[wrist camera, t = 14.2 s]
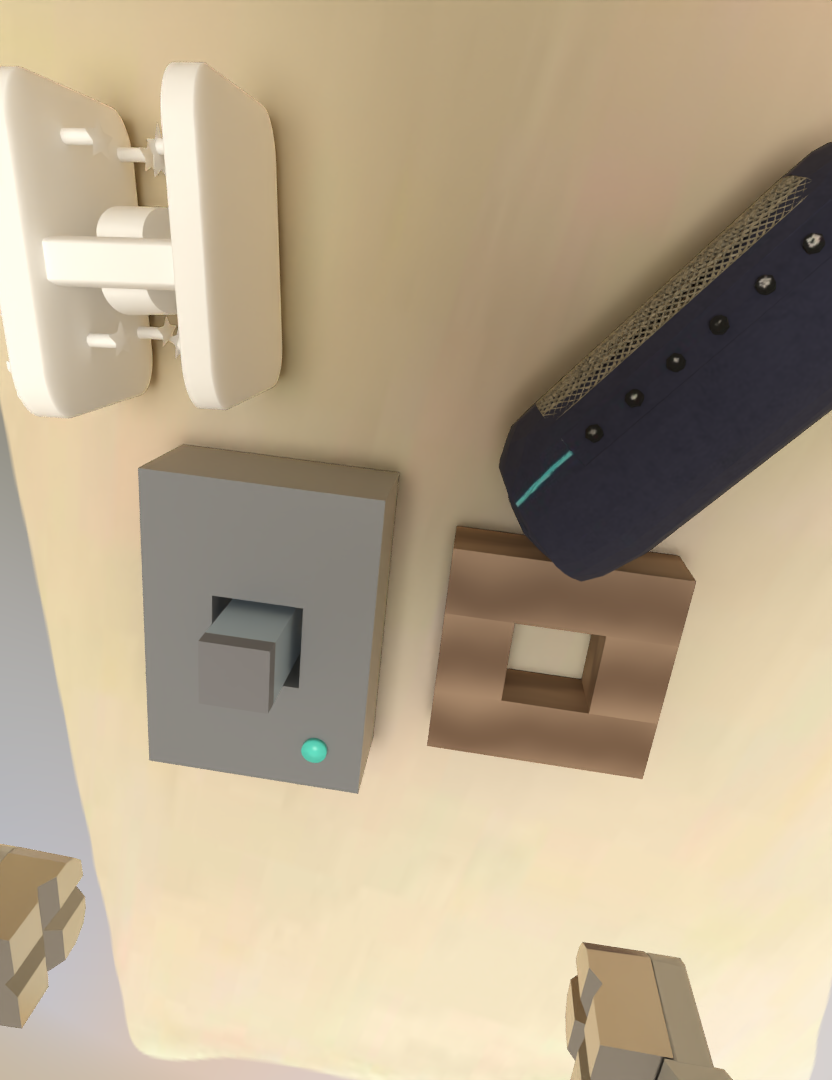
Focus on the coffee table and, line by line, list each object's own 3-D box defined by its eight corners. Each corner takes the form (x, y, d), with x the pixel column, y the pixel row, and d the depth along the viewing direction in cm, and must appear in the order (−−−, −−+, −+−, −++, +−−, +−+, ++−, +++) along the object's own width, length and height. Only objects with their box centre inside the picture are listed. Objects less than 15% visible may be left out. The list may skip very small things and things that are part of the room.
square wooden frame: (456, 526, 45) (453, 548, 41) (679, 555, 44) (696, 581, 40) (432, 710, 50) (427, 745, 46) (631, 740, 49) (642, 779, 45)
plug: (256, 569, 47) (198, 641, 38) (314, 577, 47) (270, 651, 38) (255, 622, 49) (198, 703, 40) (311, 630, 49) (268, 714, 39)
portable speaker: (833, 109, 35) (955, 48, 26) (946, 261, 37) (1098, 255, 28) (468, 447, 43) (460, 494, 34) (575, 559, 45) (596, 632, 36)
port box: (182, 444, 45) (134, 469, 39) (399, 472, 44) (384, 503, 38) (186, 708, 52) (146, 764, 46) (373, 737, 51) (356, 797, 45)
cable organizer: (290, 395, 43) (221, 435, 32) (125, 387, 44) (4, 423, 33) (281, 114, 38) (195, 49, 27) (94, 112, 39) (-62, 47, 28)
